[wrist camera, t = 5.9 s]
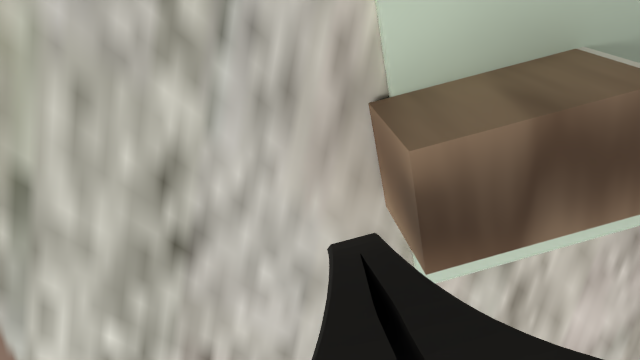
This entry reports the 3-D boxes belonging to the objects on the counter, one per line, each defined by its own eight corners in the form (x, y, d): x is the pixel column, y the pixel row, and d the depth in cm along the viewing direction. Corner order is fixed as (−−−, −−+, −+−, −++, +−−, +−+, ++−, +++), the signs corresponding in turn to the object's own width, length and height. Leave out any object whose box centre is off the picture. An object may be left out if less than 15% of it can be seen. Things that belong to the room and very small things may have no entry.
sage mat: (638, 219, 22) (645, 224, 22) (416, 282, 22) (419, 287, 21) (684, -124, 16) (694, -125, 15) (368, -45, 15) (371, -45, 15)
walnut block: (386, 206, 19) (577, 154, 20) (426, 274, 15) (665, 207, 16) (368, 103, 17) (583, 46, 17) (409, 151, 13) (687, 76, 13)
